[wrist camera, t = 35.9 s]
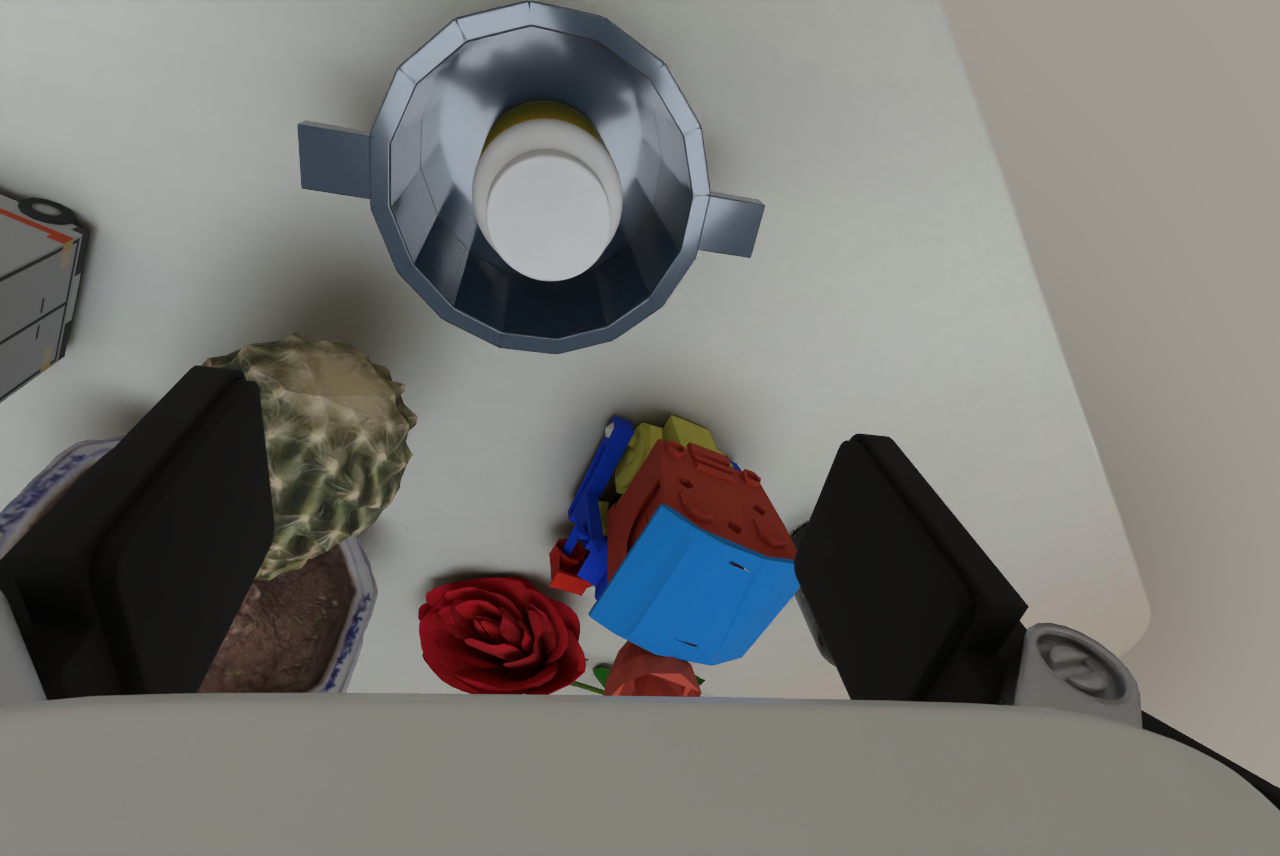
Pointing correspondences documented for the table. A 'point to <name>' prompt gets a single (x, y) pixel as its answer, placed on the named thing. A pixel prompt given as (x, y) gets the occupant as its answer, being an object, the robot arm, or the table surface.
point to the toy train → (674, 555)
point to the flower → (502, 638)
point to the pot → (451, 146)
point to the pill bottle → (546, 190)
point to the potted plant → (291, 512)
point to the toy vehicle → (36, 287)
